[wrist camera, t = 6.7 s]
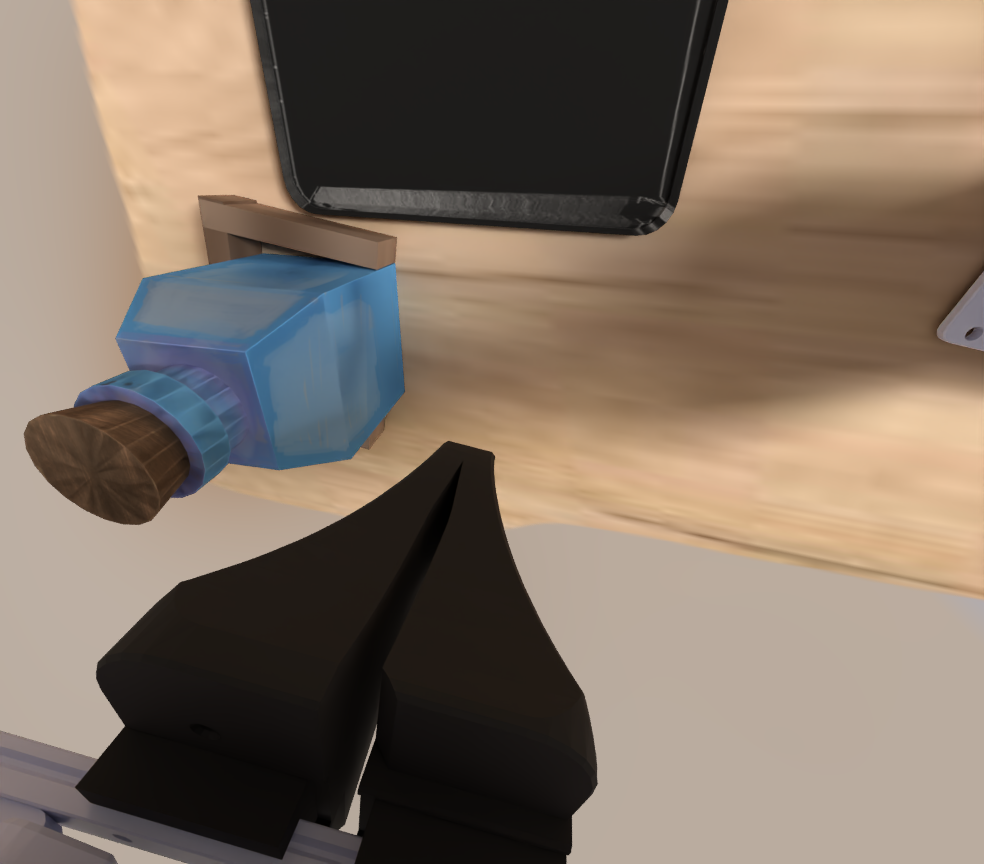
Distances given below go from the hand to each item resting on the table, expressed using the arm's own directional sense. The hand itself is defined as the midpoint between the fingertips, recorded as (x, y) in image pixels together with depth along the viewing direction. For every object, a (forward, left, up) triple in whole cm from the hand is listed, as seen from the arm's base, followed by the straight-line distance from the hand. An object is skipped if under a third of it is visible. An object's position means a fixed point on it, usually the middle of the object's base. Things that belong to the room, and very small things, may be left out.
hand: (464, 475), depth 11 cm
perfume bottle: (+8, +1, -10) cm, 13 cm away
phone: (+3, -9, -10) cm, 14 cm away
